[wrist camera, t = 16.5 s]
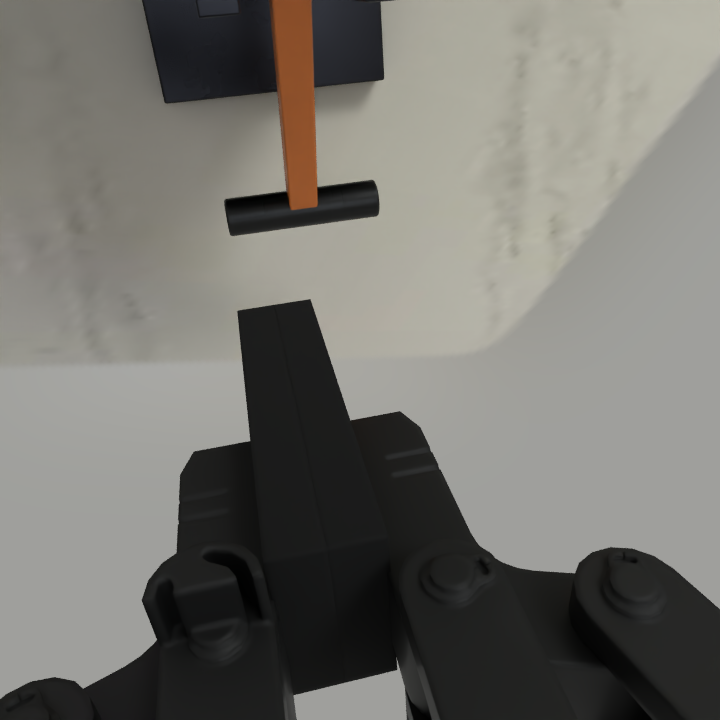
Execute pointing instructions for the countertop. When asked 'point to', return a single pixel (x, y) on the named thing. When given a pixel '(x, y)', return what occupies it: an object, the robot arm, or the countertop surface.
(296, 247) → the countertop surface
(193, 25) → the switch bracket
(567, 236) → the countertop surface
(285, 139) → the switch lever
